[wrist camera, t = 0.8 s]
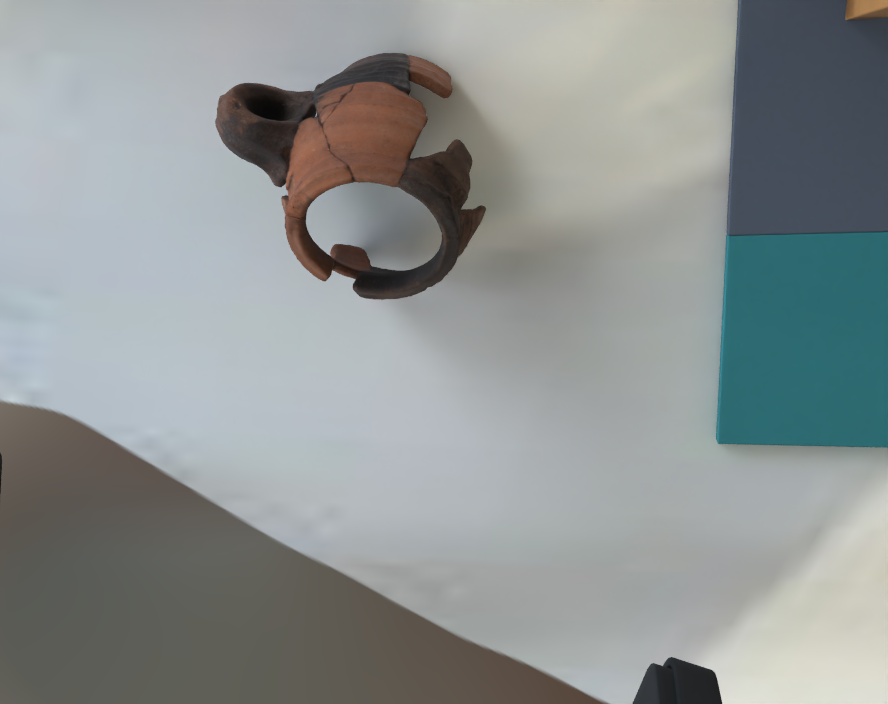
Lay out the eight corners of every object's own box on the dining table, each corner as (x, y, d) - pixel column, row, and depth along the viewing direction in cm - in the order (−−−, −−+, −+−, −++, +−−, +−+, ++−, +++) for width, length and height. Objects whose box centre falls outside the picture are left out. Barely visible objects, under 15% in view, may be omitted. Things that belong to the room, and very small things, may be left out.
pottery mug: (520, 75, 35) (514, 187, 30) (451, 227, 42) (437, 341, 37) (254, -22, 33) (195, 80, 28) (228, 156, 40) (177, 266, 34)
